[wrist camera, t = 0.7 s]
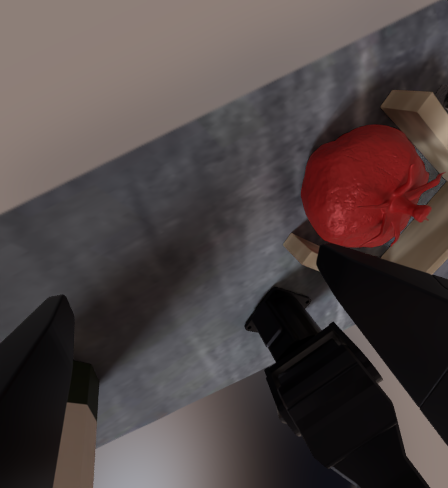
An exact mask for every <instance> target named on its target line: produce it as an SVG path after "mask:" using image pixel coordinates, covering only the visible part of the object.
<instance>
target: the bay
mask: <svg viewBox="0 0 448 488" xmlns="http://www.w3.org/2000/svg"><path fill="white" fill-rule="evenodd" d="M381 109H382V110H383V111H384V112H385V113H386V114H387V115H388V116H389V118H390V119H391V120H392V121H393V122H394V123H395V124H396V125H397V126H398V128H399V129H400V130H401V131H402V132H404V133H405V134H406V136H407V138H408V139H409V140H410V141H411V142H412V143H413V144H414V145H415V146H416V148H417V149H418V150H419V151H420V152H421V153H422V154H423V155H424V157H425V158H426V159H427V160H428V161H429V162H430V163H431V164H432V165H433V167H434V168H435V169H436V170H437V171H438V172H439V173H443V172H446V173H444V174H442V177H443V178H444V179H445V180H446V181H447V182H446V183H445V184H444V185H443V186H442V187H441V189H440V190H439V191H438V192H437V193H436V194H435V195H434V197H433V198H432V199H431V200H430V201H429V202H428V204H427V205H429V206H431V208H432V209H431V212H430V213H429V215H428V216H427V217H426V218H427V219H428V220H429V221H427V220H424V221H423V222H421V223H420V222H418V221H417V220H415V219H414V220H413V221H412V222H411V223H410V224H409V225H408V227H407V228H406V229H405V230H404V231H403V232H402V234H401V235H400V237H399V239H398V241H397V242H396V243H394V244H393V245H392V247H391V246H390V247H389V249H388V250H387V251H386V252H385V253H384V254H383V255H382V257H381V258H382V259H385V260H388V261H391V262H394V263H397V264H401V265H404V266H407V267H410V268H413V269H417V270H420V271H423V272H426V273H429V274H431V275H432V274H433V273H434V272H435V271H436V270H437V269H438V268H439V267H440V266H441V265H442V264H443V263H444V262H445V261H446V260H447V259H448V114H447V113H446V111H445V110H444V108H443V107H442V105H441V104H440V102H439V101H438V100H437V98H436V97H435V95H434V94H433V92H424V91H407V90H392V91H391V93H390V94H389V95H388V97H387V98H386V100H385V101H384V102H383V104H382V105H381ZM283 246H284V247H285V248H286V249H287V250H288V251H289V252H290V253H291V254H292V255H293V256H294V257H295V258H296V259H297V260H298V261H299V262H300V263H301V264H302V265H304V266H307V267H309V268H312V269H314V270H317V271H319V270H318V268H317V265H316V260H317V255H318V251H319V247H320V246H318V245H316V244H314V243H312V242H310V241H308V240H305V239H303V238H301V237H299V236H297V235H295V234H293V233H291V234H290V235H289V237H288V238H287V240H286V241H285V242H284V244H283ZM319 272H320V271H319Z"/></svg>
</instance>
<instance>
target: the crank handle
mask: <svg viewBox="0 0 448 488" xmlns="http://www.w3.org/2000/svg"><path fill="white" fill-rule="evenodd" d="M435 97H436V98H437V100H438V101H439V102H440V104H441V105H442V107H443V108H444V110H445V111H446V113H447V114H448V85H440V87H439V89H438V90H437V92H436V93H435Z"/></svg>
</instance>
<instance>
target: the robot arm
mask: <svg viewBox="0 0 448 488" xmlns="http://www.w3.org/2000/svg"><path fill="white" fill-rule="evenodd" d="M316 265H317V268H318V270H319V271H320V273H321V275H322V276H323V278H324V280H325V281H326V283H327V284H328V286H329V288H330V289H331V291H332V293H333V294H334V296H335V297H336V299H337V300H338V302H339V303H340V304H341V306H342V307H343V308H344V310H345V311H346V312H347V314H348V315H349V316H350V317H351V319H352V320H353V321H354V323H355V324H356V325H357V327H358V328H359V329H360V331H361V332H362V333H363V335H364V336H365V337H366V339H367V340H368V341H369V343H370V344H371V345H372V346H373V348H374V349H375V350H376V352H377V353H378V354H379V356H380V357H381V358H382V359H383V361H384V362H385V364H386V365H387V366H388V367H389V369H390V370H391V372H392V373H393V374H394V375H395V377H396V378H397V379H398V381H399V382H400V383H401V385H402V386H403V387H404V389H405V390H406V391H407V392H408V394H409V395H410V396H411V398H412V399H413V400H414V402H415V403H416V405H417V406H418V407H420V410H421V411H422V413H423V414H424V415H425V417H426V418H427V419H428V421H429V422H430V423H431V425H432V426H433V427H434V429H435V430H436V431H437V432H438V434H439V435H440V436H441V438H442V439H443V440H444V442H445V443H446V444H447V446H448V279H445V278H442V277H439V276H436V275H431V274H429V273H426V272H423V271H420V270H417V269H413V268H410V267H407V266H404V265H401V264H397V263H394V262H391V261H388V260H385V259H382V258H378V257H375V256H372V255H369V254H366V253H362V252H359V251H356V250H353V249H350V248H346V247H343V246H340V245H337V244H334V243H326V244H322V245H320V247H319V251H318V255H317V260H316ZM310 302H311V299H310V298H309V297H307V296H304V295H300V294H297V293H294V292H291V291H287V290H284V289H281V288H278V287H273V288H272V289H271V290H270V291H269V293H268V294H267V295H266V297H265V298H264V300H263V301H262V302H261V304H260V305H259V306H258V308H257V309H256V310H255V312H254V313H253V314H252V316H251V317H250V319H249V320H248V321H247V323H246V324H245V326H244V327H245V329H246V330H247V331H252V332H258V333H259V335H260V336H261V338H262V340H263V342H264V344H265V346H266V347H268V349H269V351H270V352H271V354H272V356H273V358H274V360H275V362H276V363H275V364H273V365H272V366H270V367H267V368H266V369H264V371H265V374H266V376H267V377H266V380H267V382H268V385H269V387H270V390H271V393H272V395H273V398H274V401H275V404H276V408H277V412H278V416H279V419H280V420H281V422H283V423H285V424H287V425H288V426H289V427H290V428H291V429H292V431H293V432H294V433H295V434H296V435H297V436H302V437H303V439H304V440H305V442H306V444H307V446H308V447H309V449H310V451H311V453H312V455H313V456H314V458H315V459H317V460H318V461H319V462H320V463H321V464H322V465H324V466H325V467H326V468H328V469H329V468H331V469H333V470H334V471H335V472H337V473H338V474H340V475H341V476H342V477H344V478H345V479H346V480H348V481H349V482H351V483H352V484H353V485H355V486H356V487H357V488H430V487H429V485H428V484H427V483H426V481H425V480H424V479H423V478H422V476H421V475H420V473H419V472H418V471H417V469H416V468H415V467H414V466H413V464H412V463H411V461H410V460H409V459H408V458H407V456H406V453H405V449H404V445H403V441H402V437H401V433H400V430H399V425H398V421H397V417H396V413H395V410H394V406H393V403H392V401H391V400H390V399H389V397H388V396H387V395H386V394H385V392H384V391H383V390H382V389H381V387H380V386H379V385H378V383H379V382H381V381H382V380H383V379H382V377H381V375H380V374H379V373H378V371H377V370H376V368H375V367H374V366H373V365H372V363H371V362H370V361H369V360H368V358H367V357H366V356H365V355H364V354H363V353H362V351H361V350H360V349H359V348H358V347H357V346H356V345H355V344H354V343H353V342H352V341H351V340H350V339H349V338H348V337H347V335H345V333H344V332H343V331H342V330H341V329H340V328H339V327H338V326H337V325H336V324H335V323H334V322H332V323H330V324H329V326H328V327H326V328H325V329H323V330H321V329H320V327H319V326H318V325H317V324H316V322H315V321H314V320H313V319H312V317H311V316H310V315H309V314H308V312H307V311H306V310H305V308H306V307H307V306H308V305H309V304H310ZM73 349H74V314H73V312H72V309H71V307H70V304H69V302H68V300H67V297H66V296H65V295H57V296H52V297H49V298H47V299H46V300H45V301H44V302H43V303H42V304H41V305H40V306H39V307H38V308H37V309H36V310H35V311H34V312H33V313H32V314H31V315H29V316H28V317H27V318H26V319H25V320H24V321H23V322H22V323H21V324H20V325H19V326H18V327H17V328H16V329H15V330H14V331H13V332H12V333H11V334H10V335H9V336H7V337H6V338H5V339H4V340H3V341H2V342H1V343H0V488H53V484H54V478H55V472H56V466H57V460H58V454H59V448H60V442H61V436H62V430H63V424H64V418H65V412H66V406H67V399H68V393H69V387H70V381H71V375H72V368H73Z"/></svg>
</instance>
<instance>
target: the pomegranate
mask: <svg viewBox="0 0 448 488" xmlns="http://www.w3.org/2000/svg"><path fill="white" fill-rule="evenodd" d="M444 173H446V172H443V173H440V174H438V175H437V177H436V179H435V180H433V181H431V182H429V183H427V182H428V179H429V173H428V172H426V170H425V165H424V163H423V161H422V160H421V158H420V157H419V156H418V155H417V153H416V150H415V147H414V146H413V145H412V143H411V142H410V141H409V140H408V138H407V137H406V134H405V133H404V132H402V131H400V130H398V129H396V128H392V127H390V126H386V125H366V126H362V127H359V128H356V129H354V130H352V131H351V132H349V133H346V134H343V135H342V136H340V137H339V138H338V139H337V140H336V141H332V142H329V143H326V144H323V145H321V146H320V147H319V148H318V149H317V150H316V151H315V152H314V153H313V154H312V155H311V156H310V158H309V160H308V162H307V165H306V170H305V176H304V179H303V183H302V189H301V198H302V202H303V205H304V210H305V213H306V215H307V217H308V219H309V221H310V223H311V225H312V226H313V228H314V229H315V230H316V232H317V234H318V235H319V236H320V237H321V238H322V239H324V240H325V241H328V242H330V243H334V244H337V245H340V246H345V247H359V248H360V247H370V248H372V247H376V246H381V245H383V244H384V243H386V242H388V241H389V240H390V239H391V238H393V237H394V236H395V240H394V242H393V243H392V244H391V247H392V245H393V244H394V243H396V242H397V241H398V239H399V237H400V232H401V231H402V230H403V229H404V228H405V227H406V226H407V223H408V221H409V219H410V217H411V216H413V217H414V218H415V220H417V221H418V222H420V223H421V222H423V221H424V220H427V221H429V220H428V219H427V218H426V217H427V216H428V215H429V213H430V212H431V209H432V208H431V206H429V205H417V202H418V200H419V198H420V196H421V194H422V193H423V192H424V191H426V190H428V189H430V188H432V187H434V186H436V185H438V184H439V182H440V179H441V176H442V174H444Z"/></svg>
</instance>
